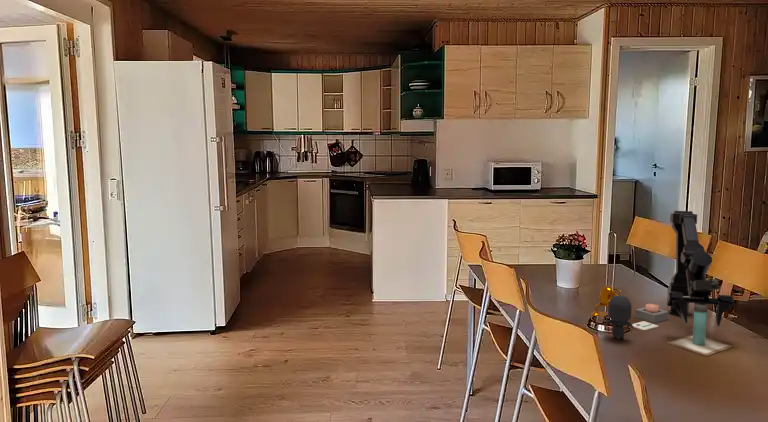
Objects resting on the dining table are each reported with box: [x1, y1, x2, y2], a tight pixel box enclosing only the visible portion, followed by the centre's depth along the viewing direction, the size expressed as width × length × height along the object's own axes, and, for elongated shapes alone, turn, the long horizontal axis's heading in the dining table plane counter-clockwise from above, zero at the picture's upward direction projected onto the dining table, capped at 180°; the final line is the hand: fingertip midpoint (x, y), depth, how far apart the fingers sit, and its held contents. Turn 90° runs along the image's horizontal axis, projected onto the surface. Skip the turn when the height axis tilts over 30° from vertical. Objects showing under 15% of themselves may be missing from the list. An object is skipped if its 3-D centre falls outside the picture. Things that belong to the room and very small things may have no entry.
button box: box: [634, 306, 670, 324], centre depth 211 cm, size 8×8×3 cm
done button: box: [645, 303, 660, 313], centre depth 211 cm, size 4×4×4 cm
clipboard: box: [666, 334, 734, 358], centre depth 184 cm, size 15×13×1 cm
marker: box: [692, 303, 709, 345], centre depth 184 cm, size 4×4×13 cm
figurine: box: [589, 285, 623, 317], centre depth 212 cm, size 8×11×12 cm
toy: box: [603, 294, 635, 341], centre depth 189 cm, size 9×8×15 cm
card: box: [631, 320, 659, 332], centre depth 203 cm, size 8×6×1 cm
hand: (702, 324), depth 182 cm, fingers open, 9 cm apart
